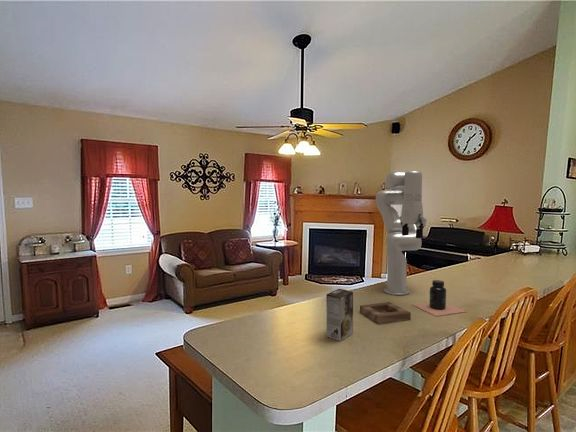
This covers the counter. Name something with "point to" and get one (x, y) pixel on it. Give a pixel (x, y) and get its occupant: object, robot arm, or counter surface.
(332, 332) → the coffee box
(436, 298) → the supplement bottle
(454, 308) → the terracotta mat
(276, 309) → the counter surface
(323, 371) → the counter surface
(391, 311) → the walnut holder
